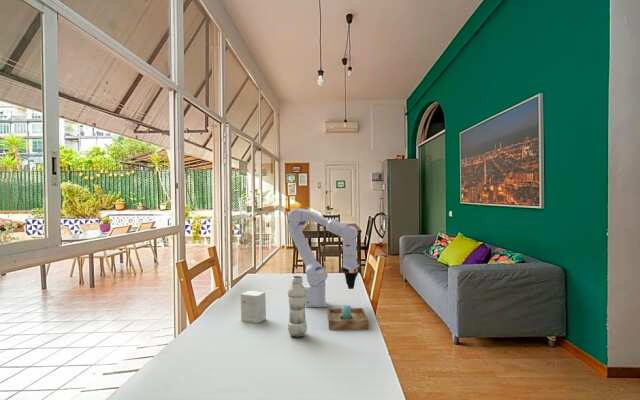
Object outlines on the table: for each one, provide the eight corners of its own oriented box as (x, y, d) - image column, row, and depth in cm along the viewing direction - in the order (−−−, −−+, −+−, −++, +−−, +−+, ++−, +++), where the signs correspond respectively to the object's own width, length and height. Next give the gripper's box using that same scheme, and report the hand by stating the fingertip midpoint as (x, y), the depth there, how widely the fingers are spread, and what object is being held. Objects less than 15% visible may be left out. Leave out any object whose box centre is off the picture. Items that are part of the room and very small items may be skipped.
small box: (266, 319, 135) (266, 292, 135) (257, 323, 130) (257, 295, 130) (249, 316, 138) (249, 290, 138) (240, 320, 133) (240, 293, 133)
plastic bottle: (292, 340, 114) (292, 280, 114) (285, 333, 120) (284, 276, 120) (310, 336, 117) (309, 277, 117) (302, 330, 123) (301, 274, 123)
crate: (328, 329, 123) (328, 320, 123) (327, 316, 137) (327, 308, 137) (367, 329, 124) (367, 320, 124) (362, 316, 138) (362, 308, 138)
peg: (342, 324, 129) (341, 308, 129) (341, 320, 132) (341, 305, 132) (351, 324, 129) (351, 308, 129) (350, 320, 132) (350, 305, 132)
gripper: (361, 257, 140) (361, 290, 140) (357, 252, 155) (357, 282, 155) (344, 257, 140) (344, 290, 140) (341, 252, 155) (341, 282, 155)
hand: (350, 286), depth 148 cm, fingers open, 7 cm apart
